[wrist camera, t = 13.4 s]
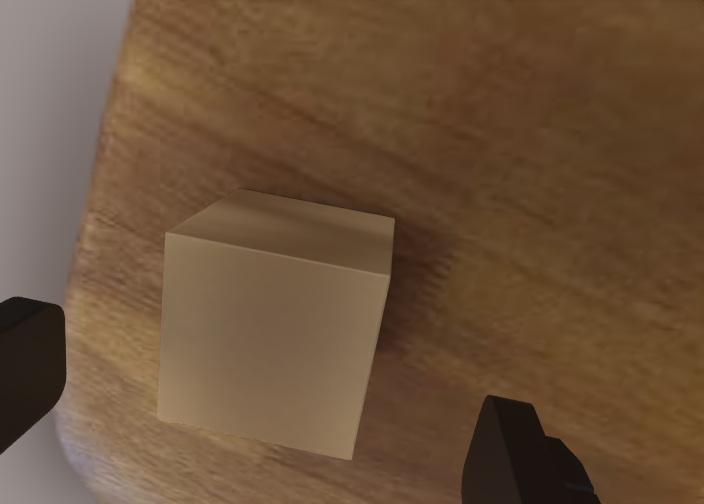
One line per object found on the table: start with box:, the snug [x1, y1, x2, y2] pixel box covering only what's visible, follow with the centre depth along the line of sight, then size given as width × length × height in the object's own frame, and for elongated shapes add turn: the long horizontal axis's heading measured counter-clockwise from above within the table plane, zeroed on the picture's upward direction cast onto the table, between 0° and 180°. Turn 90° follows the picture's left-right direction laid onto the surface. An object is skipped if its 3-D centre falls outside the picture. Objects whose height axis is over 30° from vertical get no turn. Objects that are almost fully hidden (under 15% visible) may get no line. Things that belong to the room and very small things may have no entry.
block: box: [157, 188, 395, 460], centre depth 12 cm, size 4×4×4 cm
